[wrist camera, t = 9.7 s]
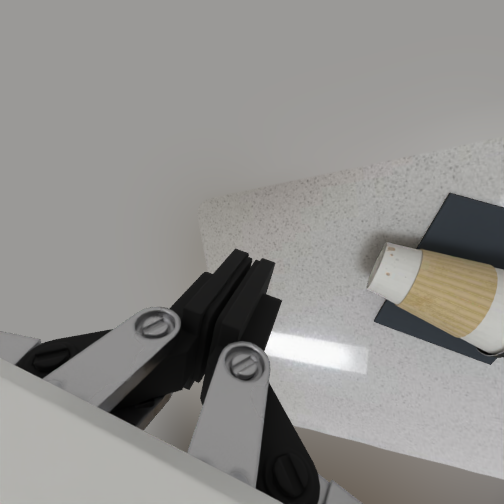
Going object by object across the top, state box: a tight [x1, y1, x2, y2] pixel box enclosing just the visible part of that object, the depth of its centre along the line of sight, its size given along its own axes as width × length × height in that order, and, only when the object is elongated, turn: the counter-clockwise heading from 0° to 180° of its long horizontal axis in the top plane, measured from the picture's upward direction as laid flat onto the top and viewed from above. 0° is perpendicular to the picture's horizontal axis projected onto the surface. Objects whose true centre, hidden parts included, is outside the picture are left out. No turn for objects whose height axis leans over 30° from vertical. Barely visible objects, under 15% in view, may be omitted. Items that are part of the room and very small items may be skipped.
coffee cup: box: [367, 242, 504, 358], centre depth 31 cm, size 10×10×15 cm
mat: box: [374, 193, 504, 365], centre depth 34 cm, size 20×16×1 cm
